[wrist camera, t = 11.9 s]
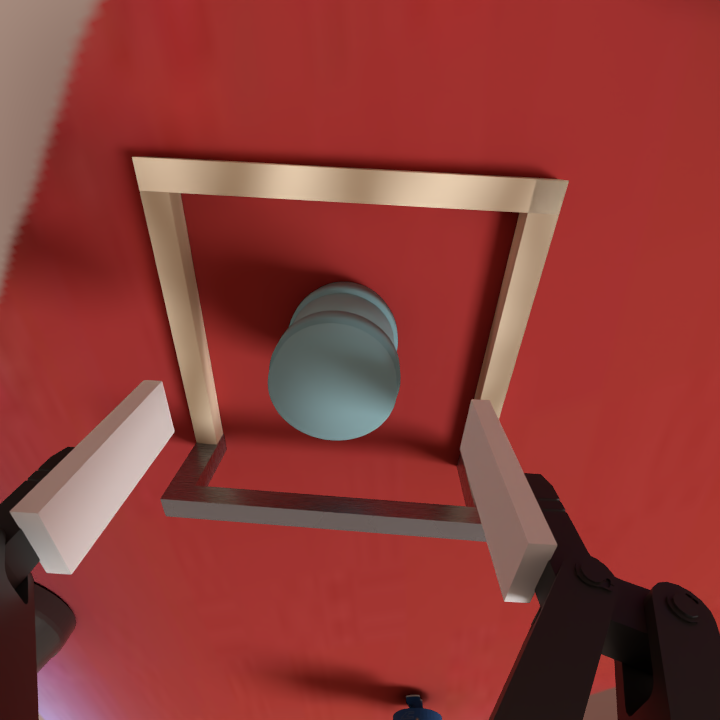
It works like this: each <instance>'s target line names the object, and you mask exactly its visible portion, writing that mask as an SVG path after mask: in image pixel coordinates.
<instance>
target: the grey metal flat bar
mask: <svg viewBox="0 0 720 720" xmlns="http://www.w3.org/2000/svg"><path fill="white" fill-rule="evenodd" d="M226 450H227V449H226V443H225V438H224V434H223V435H222V437H221V438H220V440H219V442H218V444H217V445H215V444H202V443H197V442H196V444H195V446H194V447H193V449H192V450H191V452H190V453H189V455H188V457H187V458H186V460H185V461H184V463H183V464H182V466H181V467H180V469H179V471H178V472H177V474H176V475H175V477H174V478H173V480H172V482H171V483H170V485H169V486H168V488H167V489H166V491H165V493H164V494H163V496H162V497H161V502H162V506H163V509H164V512H165V515H166V516H171V517H183V518H196V519H209V520H221V521H234V522H246V523H259V524H271V525H284V526H297V527H309V528H322V529H334V530H347V531H359V532H372V533H384V534H397V535H410V536H422V537H435V538H447V539H460V540H472V541H485V542H487V541H486V537H485V534H484V530H483V527H482V523H481V520H480V517H479V513H478V510H477V506H476V503H475V499H474V496H473V492H472V489H471V486H470V482H469V479H468V475H467V472H466V468H465V465H464V461H463V458H462V455H461V452H460V456H459V460H458V464H457V469H458V474H459V478H460V482H461V487H462V491H463V495H464V500H465V504H466V507H465V506H452V505H439V504H426V503H413V502H400V501H387V500H375V499H362V498H349V497H336V496H323V495H310V494H297V493H284V492H271V491H258V490H245V489H232V488H219V487H207V486H208V484H209V482H210V480H211V478H212V476H213V475H214V473H215V471H216V469H217V467H218V465H219V463H220V461H221V459H222V457H223V455H224V454H225V452H226Z"/></svg>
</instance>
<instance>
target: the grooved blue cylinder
mask: <svg viewBox="0 0 720 720" xmlns="http://www.w3.org/2000/svg"><path fill="white" fill-rule="evenodd" d="M397 346H398V336H397V326H396V322H395V319H394V316H393V314H392V312H391V310H390V309H389V307H388V306H387V304H386V303H385V302H384V300H383V299H382V298H381V297H380V296H379V295H378V294H377V293H376V292H374V291H373V290H371V289H369V288H368V287H366V286H363V285H361V284H357V283H353V282H334V283H330V284H327V285H325V286H322V287H320V288H319V289H317V290H315V291H314V292H312V293H310V294H309V295H308V296H307V297H305V299H304V300H303V301H302V302H301V303H300V305H299V306H298V307H297V309H296V311H295V313H294V315H293V317H292V319H291V321H290V325H289V328H288V329H287V330H286V331H285V333H284V334H283V335H282V337H281V338H280V340H279V342H278V344H277V346H276V348H275V350H274V352H273V354H272V357H271V360H270V367H269V375H268V390H269V395H270V398H271V401H272V403H273V405H274V407H275V408H276V410H277V411H278V413H279V414H280V415H281V416H282V417H283V419H284V420H286V421H287V422H288V423H289V424H290V425H291V426H293V427H294V428H296V429H297V430H299V431H301V432H303V433H305V434H307V435H310V436H313V437H316V438H320V439H325V440H349V439H354V438H358V437H361V436H364V435H366V434H368V433H370V432H372V431H374V430H375V429H376V428H378V427H379V426H380V425H381V424H382V423H383V422H384V421H385V420H386V419H387V418H388V416H389V415H390V413H391V412H392V410H393V407H394V405H395V402H396V397H397V395H398V392H399V387H400V365H399V358H398V354H397Z"/></svg>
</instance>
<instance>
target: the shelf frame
mask: <svg viewBox="0 0 720 720" xmlns="http://www.w3.org/2000/svg"><path fill="white" fill-rule="evenodd" d="M132 160H133V164H134V169H135V173H136V178H137V182H138V186H139V191H140V195H141V200H142V204H143V208H144V213H145V217H146V222H147V226H148V230H149V235H150V239H151V244H152V248H153V252H154V257H155V261H156V266H157V270H158V274H159V279H160V283H161V288H162V292H163V296H164V301H165V305H166V310H167V314H168V319H169V323H170V327H171V332H172V336H173V341H174V345H175V349H176V354H177V358H178V363H179V367H180V371H181V376H182V380H183V385H184V389H185V393H186V398H187V402H188V407H189V411H190V415H191V420H192V424H193V429H194V433H195V437H196V442H197V443H202V444H215V445H217V444H218V442H219V440H220V438H221V437H222V435H223V430H222V424H221V419H220V413H219V407H218V402H217V396H216V390H215V385H214V379H213V373H212V368H211V362H210V357H209V351H208V345H207V340H206V334H205V328H204V323H203V317H202V311H201V306H200V300H199V295H198V289H197V283H196V278H195V272H194V266H193V261H192V255H191V249H190V244H189V238H188V232H187V227H186V221H185V216H184V210H183V204H182V199H181V193H190V194H207V195H225V196H242V197H260V198H277V199H295V200H312V201H330V202H347V203H365V204H382V205H400V206H417V207H435V208H452V209H469V210H487V211H504V212H520V213H519V217H518V221H517V225H516V229H515V233H514V237H513V241H512V245H511V249H510V254H509V258H508V262H507V266H506V270H505V274H504V278H503V282H502V286H501V290H500V295H499V299H498V303H497V307H496V311H495V315H494V319H493V323H492V327H491V331H490V336H489V340H488V344H487V348H486V352H485V356H484V360H483V364H482V368H481V372H480V377H479V381H478V385H477V389H476V393H475V397H474V399H476V400H490V402H491V404H492V406H493V409H494V411H495V413H496V415H497V417H498V419H499V416H500V413H501V410H502V406H503V403H504V399H505V396H506V393H507V389H508V386H509V382H510V379H511V376H512V372H513V369H514V365H515V362H516V359H517V355H518V352H519V348H520V345H521V342H522V338H523V335H524V331H525V328H526V325H527V321H528V318H529V314H530V311H531V308H532V304H533V301H534V297H535V294H536V290H537V287H538V284H539V280H540V277H541V273H542V270H543V267H544V263H545V260H546V256H547V253H548V250H549V246H550V243H551V239H552V236H553V233H554V229H555V226H556V222H557V219H558V216H559V212H560V209H561V205H562V202H563V199H564V195H565V192H566V188H567V185H568V182H569V181H567V180H561V179H547V178H529V177H511V176H492V175H474V174H456V173H438V172H420V171H401V170H383V169H365V168H347V167H328V166H310V165H292V164H274V163H256V162H237V161H219V160H201V159H183V158H164V157H146V156H144V157H132Z"/></svg>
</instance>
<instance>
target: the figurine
mask: <svg viewBox="0 0 720 720" xmlns="http://www.w3.org/2000/svg"><path fill="white" fill-rule="evenodd" d="M406 703H407V704H408V706H409V708H408V709H403V710H400V711H397V712H396V713H395V714H394V715H393V720H442V717H441V715H440V714H438V713H437V712H435V711H432V710H429V709H424V708H423V704H422V699H420V695H407V696H406Z"/></svg>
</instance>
